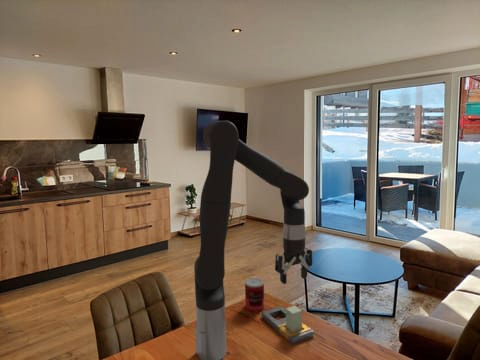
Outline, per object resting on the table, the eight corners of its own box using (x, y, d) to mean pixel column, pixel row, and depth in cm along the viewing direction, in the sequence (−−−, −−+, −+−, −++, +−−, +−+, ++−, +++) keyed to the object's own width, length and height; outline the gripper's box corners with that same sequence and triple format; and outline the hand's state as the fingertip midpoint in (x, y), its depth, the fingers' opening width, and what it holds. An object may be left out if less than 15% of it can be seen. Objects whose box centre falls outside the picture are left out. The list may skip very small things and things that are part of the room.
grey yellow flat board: (292, 344, 115) (292, 338, 115) (261, 317, 133) (261, 311, 133) (313, 336, 119) (313, 330, 119) (281, 311, 137) (280, 305, 137)
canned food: (255, 300, 146) (254, 276, 145) (268, 307, 140) (267, 282, 138) (241, 306, 141) (240, 281, 140) (254, 314, 135) (253, 287, 134)
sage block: (292, 337, 119) (292, 313, 118) (286, 331, 123) (285, 308, 121) (301, 334, 121) (301, 310, 120) (295, 328, 124) (295, 305, 123)
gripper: (283, 241, 110) (283, 289, 113) (317, 235, 117) (317, 280, 119) (270, 236, 117) (270, 281, 119) (303, 230, 124) (303, 272, 126)
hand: (293, 280), depth 119 cm, fingers open, 8 cm apart
